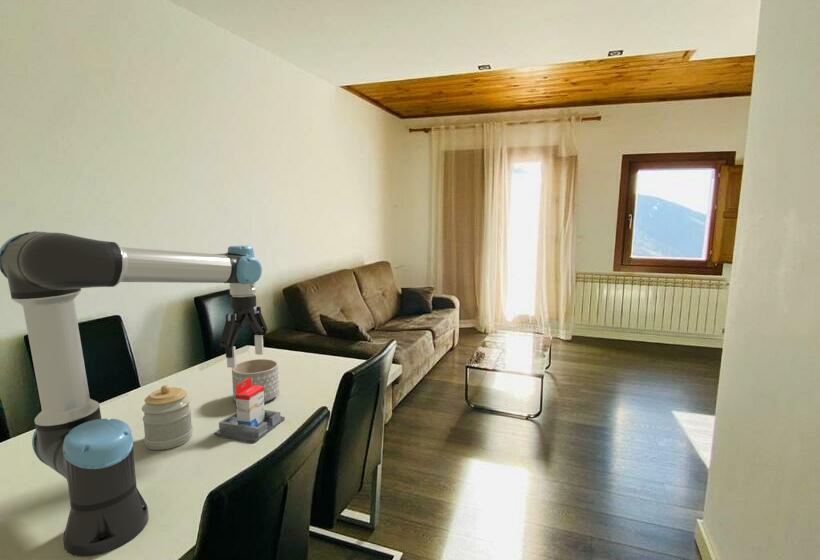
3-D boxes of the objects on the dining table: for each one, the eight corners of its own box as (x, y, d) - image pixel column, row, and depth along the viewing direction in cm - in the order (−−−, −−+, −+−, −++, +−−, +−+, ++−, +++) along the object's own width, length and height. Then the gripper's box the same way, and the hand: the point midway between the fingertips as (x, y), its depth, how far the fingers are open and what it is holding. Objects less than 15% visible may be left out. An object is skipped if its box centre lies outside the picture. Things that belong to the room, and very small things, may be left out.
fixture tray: (255, 442, 130) (254, 431, 130) (214, 435, 134) (213, 425, 134) (284, 419, 145) (284, 409, 145) (247, 414, 150) (246, 404, 149)
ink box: (250, 431, 135) (248, 386, 133) (237, 429, 137) (234, 385, 135) (265, 419, 144) (263, 377, 142) (252, 417, 145) (250, 375, 143)
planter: (224, 404, 158) (222, 371, 156) (250, 387, 173) (249, 357, 172) (263, 409, 154) (262, 375, 152) (287, 391, 170) (285, 360, 168)
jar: (201, 436, 134) (198, 382, 132) (160, 455, 123) (155, 397, 121) (177, 426, 141) (173, 374, 138) (136, 443, 130) (131, 388, 127)
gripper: (225, 302, 121) (229, 374, 124) (276, 289, 145) (279, 350, 147) (203, 301, 123) (208, 372, 126) (257, 288, 147) (260, 348, 149)
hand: (246, 360), depth 137 cm, fingers open, 13 cm apart
